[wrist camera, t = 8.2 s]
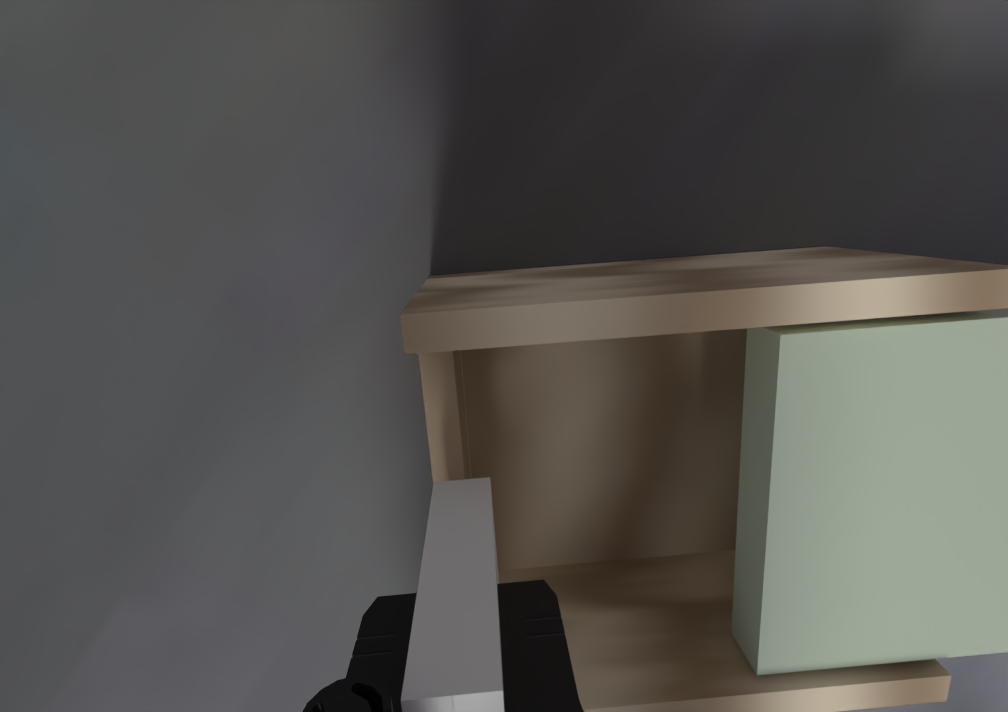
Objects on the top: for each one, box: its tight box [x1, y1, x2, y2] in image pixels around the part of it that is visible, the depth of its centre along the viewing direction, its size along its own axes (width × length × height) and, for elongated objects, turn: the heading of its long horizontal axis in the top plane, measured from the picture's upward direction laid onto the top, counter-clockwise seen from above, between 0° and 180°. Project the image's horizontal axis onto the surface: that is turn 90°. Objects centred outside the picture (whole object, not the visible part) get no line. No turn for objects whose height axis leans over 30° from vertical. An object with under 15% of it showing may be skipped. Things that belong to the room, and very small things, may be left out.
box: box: [400, 246, 1008, 712], centre depth 17 cm, size 14×12×7 cm
